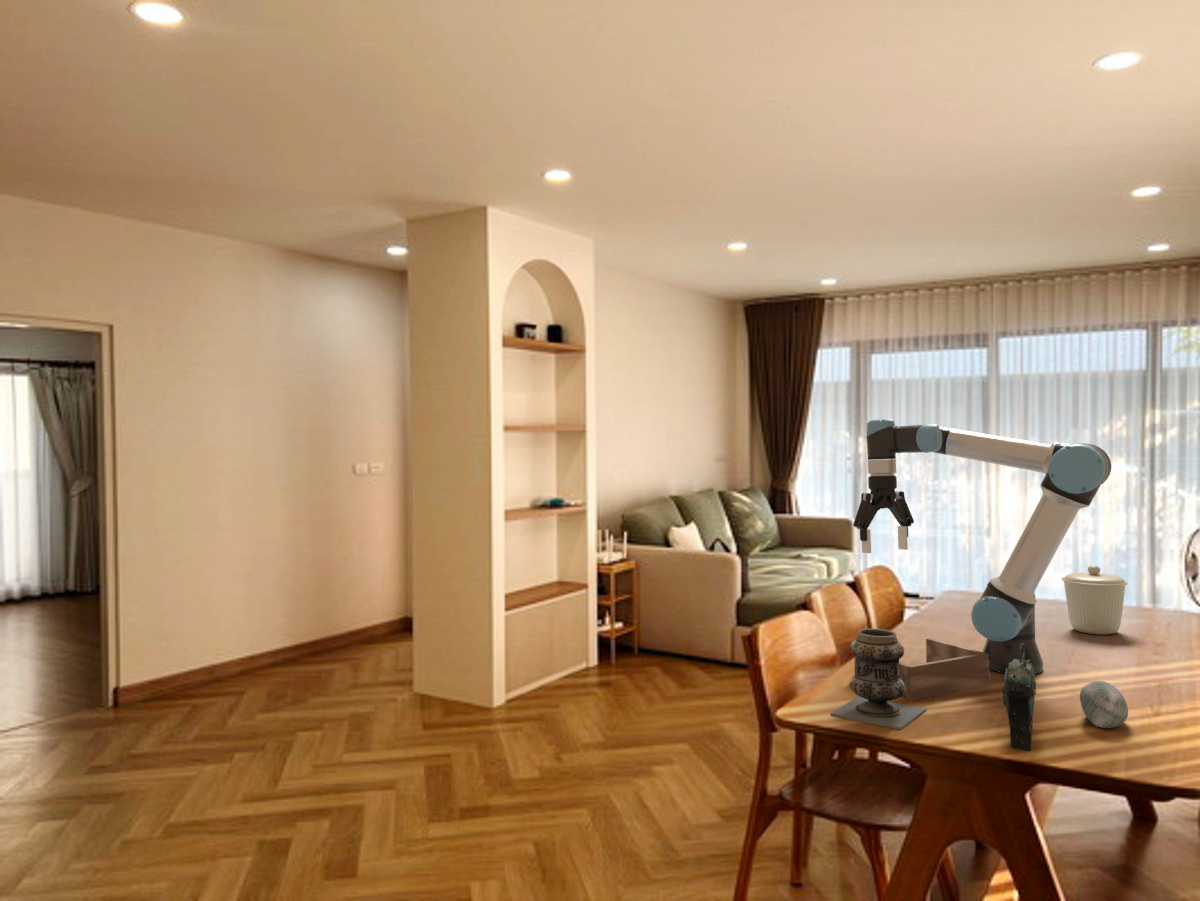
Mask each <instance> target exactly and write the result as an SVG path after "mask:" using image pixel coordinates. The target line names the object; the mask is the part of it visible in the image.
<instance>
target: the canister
mask: <svg viewBox="0 0 1200 901" xmlns="http://www.w3.org/2000/svg"><path fill="white" fill-rule="evenodd" d="M1061 581H1063V583H1064V591H1065V592H1064V593H1065V598H1066V607H1067V612H1068V618H1069V623H1070V625H1071V627H1072V629H1074V630H1075V631H1078V632H1080V633H1084V634H1090V635H1102V636H1103V635H1113V634H1116V633H1118V631H1119V630H1120V627H1121V623H1122V618H1123V609H1124V600H1125V590H1126V585H1128V584H1129V582H1128V581H1127V580H1125V579H1124V578H1123V577H1121V576H1118V575H1115V574H1111V573H1101V568H1100V567H1099V565H1093V564H1092V565H1089V566H1088V567H1087V572H1072V573H1068V574H1066V575H1065V576H1063V577H1061Z"/></svg>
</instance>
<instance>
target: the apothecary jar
mask: <svg viewBox="0 0 1200 901" xmlns="http://www.w3.org/2000/svg"><path fill="white" fill-rule="evenodd" d="M849 650H850V652H851V654H852V655H853V656H854V655H855V657H856V668H855V667H854V675H853V676H852V677H851V678H850V681H849V688H850V689H851V691H852V692H853V693H854V694H855V695H857V697H858V696H860V697H862V698H865V699H867V700H868V701H865V702H863V703H860V704H858V705H857V706H856V707H855V709H856V711H857V712H859V713H861V714H864V715H868V716H874V717H892V716H896V715H898V714H900V713H901V710H900V709H899V708H898V707H897V706H895V705H893V704H891V703H889V702H892V701H895V700H897V699H899V698H901V697H900V696H902V695H903V694H904V692H905V684H904V682H903V681H902V680H901V679H900V676H899V662H900V660H901V658H903V656H904V654H905V647H904V646H903V645H902V643H900V642H899V641H898V637H897V634H896V632H894V631H893V630H887V629H882V628H862V629H859V630H858V631H857V636H856V639H854V640H853V641H851V643H850V646H849ZM887 701H889V702H887Z"/></svg>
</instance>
